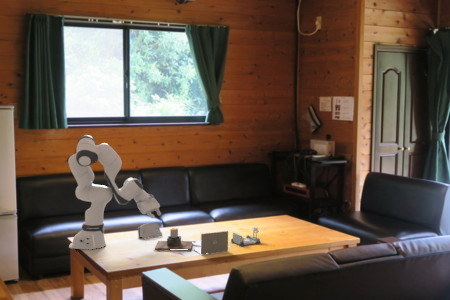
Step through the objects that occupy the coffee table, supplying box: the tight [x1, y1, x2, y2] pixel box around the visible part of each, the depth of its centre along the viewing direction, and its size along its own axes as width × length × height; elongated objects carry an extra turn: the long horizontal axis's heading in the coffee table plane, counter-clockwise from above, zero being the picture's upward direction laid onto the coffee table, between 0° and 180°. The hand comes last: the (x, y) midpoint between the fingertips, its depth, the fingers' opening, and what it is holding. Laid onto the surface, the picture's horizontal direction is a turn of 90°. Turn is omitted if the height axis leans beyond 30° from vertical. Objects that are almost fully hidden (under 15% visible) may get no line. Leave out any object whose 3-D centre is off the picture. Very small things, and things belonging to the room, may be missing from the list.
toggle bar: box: [169, 227, 179, 239], centre depth 381 cm, size 4×4×10 cm
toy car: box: [230, 226, 261, 247], centre depth 394 cm, size 18×10×12 cm
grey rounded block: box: [137, 222, 163, 239], centre depth 409 cm, size 17×5×10 cm, turn 134°
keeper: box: [154, 235, 194, 251], centre depth 381 cm, size 22×18×6 cm
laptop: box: [200, 230, 229, 255], centre depth 373 cm, size 18×12×13 cm
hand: (156, 216), depth 384 cm, fingers open, 8 cm apart
